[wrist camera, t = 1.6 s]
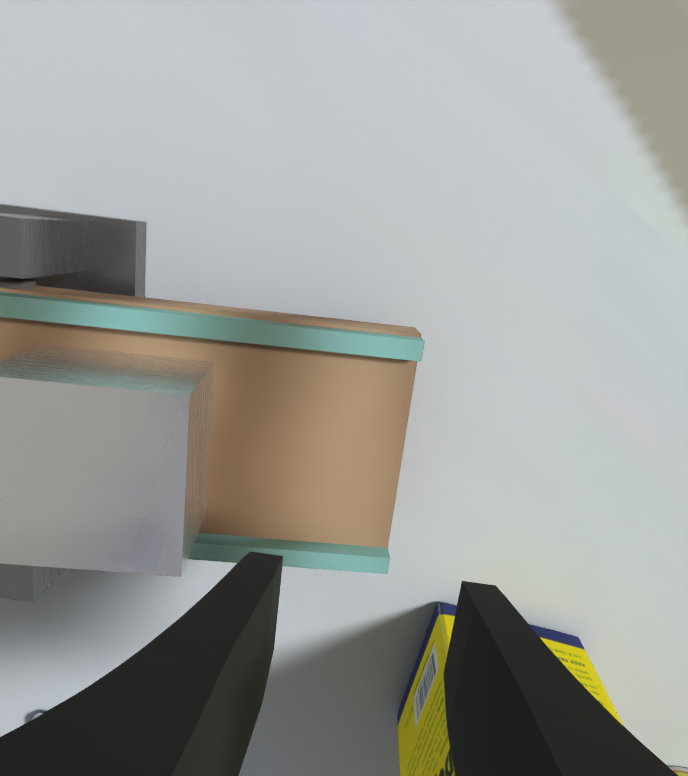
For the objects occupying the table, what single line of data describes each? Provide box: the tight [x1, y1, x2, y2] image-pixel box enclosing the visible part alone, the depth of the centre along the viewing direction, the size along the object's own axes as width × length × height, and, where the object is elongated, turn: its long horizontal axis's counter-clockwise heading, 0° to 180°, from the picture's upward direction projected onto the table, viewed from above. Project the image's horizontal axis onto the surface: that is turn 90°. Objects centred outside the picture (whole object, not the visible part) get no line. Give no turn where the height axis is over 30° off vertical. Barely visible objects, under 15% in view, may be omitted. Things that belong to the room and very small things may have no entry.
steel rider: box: [0, 344, 215, 577], centre depth 15 cm, size 5×5×4 cm
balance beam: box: [0, 277, 425, 574], centre depth 17 cm, size 22×8×2 cm, turn 83°
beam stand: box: [0, 204, 146, 602], centre depth 18 cm, size 5×12×4 cm, turn 173°
